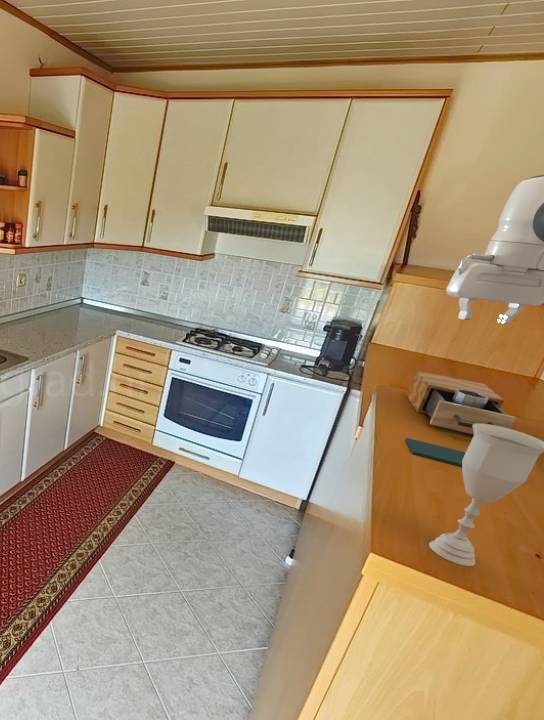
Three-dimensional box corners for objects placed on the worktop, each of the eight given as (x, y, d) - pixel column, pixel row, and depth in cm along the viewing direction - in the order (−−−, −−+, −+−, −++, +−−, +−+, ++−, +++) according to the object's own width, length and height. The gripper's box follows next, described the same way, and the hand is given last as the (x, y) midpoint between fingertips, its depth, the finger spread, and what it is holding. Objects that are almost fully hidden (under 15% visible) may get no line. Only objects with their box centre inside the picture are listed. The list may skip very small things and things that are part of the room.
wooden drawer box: (513, 450, 103) (525, 425, 101) (435, 432, 108) (445, 408, 106) (485, 422, 118) (496, 400, 116) (419, 407, 124) (428, 386, 122)
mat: (488, 460, 98) (489, 458, 98) (501, 477, 92) (502, 474, 92) (405, 440, 104) (406, 437, 104) (412, 454, 98) (413, 451, 97)
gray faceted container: (472, 418, 116) (483, 393, 114) (479, 426, 111) (491, 400, 109) (443, 412, 119) (454, 387, 116) (449, 419, 114) (460, 394, 111)
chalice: (420, 553, 66) (476, 434, 60) (417, 530, 71) (468, 418, 65) (490, 579, 62) (557, 455, 56) (481, 552, 68) (542, 436, 62)
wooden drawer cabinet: (490, 429, 116) (504, 400, 114) (416, 412, 123) (428, 384, 120) (472, 411, 129) (485, 384, 126) (407, 396, 135) (417, 370, 132)
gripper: (479, 253, 99) (451, 320, 104) (570, 264, 101) (539, 329, 106) (453, 251, 105) (428, 313, 110) (540, 260, 107) (512, 322, 111)
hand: (483, 321), depth 108 cm, fingers open, 8 cm apart
